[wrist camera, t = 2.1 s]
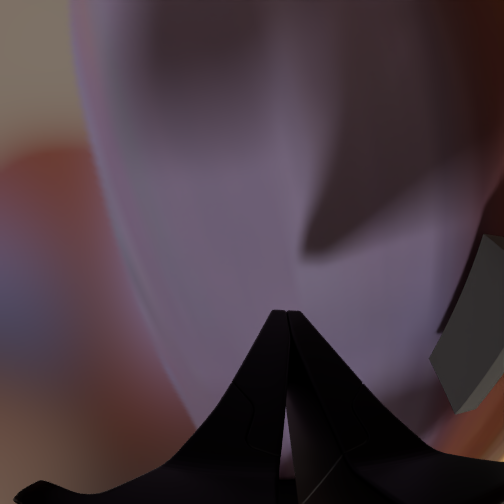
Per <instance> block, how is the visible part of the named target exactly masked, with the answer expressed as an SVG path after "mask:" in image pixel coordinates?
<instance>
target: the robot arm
mask: <svg viewBox="0 0 504 504" xmlns="http://www.w3.org/2000/svg"><path fill="white" fill-rule="evenodd" d="M285 409H286V411H287V418H288V426H289V433H290V441H291V449H292V456H293V464H294V472H295V480H296V481H279V467H280V457H281V449H282V439H283V430H284V419H285ZM13 501H14V502H15V503H17V504H504V462H497V461H489V460H482V459H475V458H469V457H463V456H457V455H452V454H447V453H443V452H440V451H437V450H435V449H433V448H432V447H430V446H429V445H427V444H426V443H425V442H423V441H422V440H421V439H420V438H419V437H418V436H417V435H415V434H414V433H413V432H412V431H411V430H410V429H409V428H408V427H406V426H405V425H404V424H403V423H402V422H401V421H400V420H399V419H398V418H396V417H395V416H394V415H393V414H392V413H391V412H390V411H389V410H388V409H387V408H386V407H385V406H384V405H383V404H382V403H381V402H380V401H379V400H378V399H377V398H376V397H375V396H374V395H373V394H372V392H371V391H370V390H369V389H368V388H367V387H366V386H365V385H364V384H362V381H361V380H360V379H359V378H358V377H357V375H356V374H355V373H354V372H353V371H352V370H351V369H350V367H349V366H348V365H347V364H346V363H345V362H344V361H343V359H342V358H341V357H340V356H339V355H338V354H337V353H336V351H335V350H334V349H333V348H332V347H331V346H330V344H329V343H328V342H327V341H326V340H325V339H324V338H323V336H322V335H321V334H320V333H319V332H318V331H317V330H316V328H315V327H314V326H313V325H312V324H311V323H310V321H309V320H308V319H307V318H306V317H305V316H304V315H303V313H302V312H300V311H291V310H288V311H287V312H286V311H285V310H272V311H271V313H270V315H269V316H268V318H267V320H266V322H265V324H264V326H263V327H262V329H261V331H260V333H259V335H258V336H257V338H256V340H255V342H254V344H253V345H252V347H251V349H250V351H249V353H248V354H247V356H246V358H245V360H244V361H243V363H242V365H241V367H240V368H239V370H238V372H237V374H236V375H235V377H234V379H233V381H232V383H231V384H230V385H229V387H228V389H227V391H226V392H225V394H224V395H223V397H222V398H221V400H220V401H219V403H218V405H217V406H216V407H215V409H214V410H213V411H212V412H211V414H210V415H209V416H208V418H207V419H206V420H205V421H204V422H203V424H202V425H201V426H200V427H199V428H198V429H197V430H196V432H195V433H194V434H193V435H192V436H191V437H190V439H189V440H188V441H187V442H186V443H185V444H184V445H183V446H182V447H181V449H180V450H179V451H178V452H177V453H176V454H175V455H174V456H173V457H172V458H171V459H170V460H168V461H167V462H166V463H165V464H163V465H161V466H160V467H158V468H156V469H154V470H152V471H150V472H148V473H146V474H144V475H142V476H140V477H138V478H135V479H133V480H131V481H129V482H126V483H124V484H122V485H120V486H117V487H115V488H113V489H110V490H108V491H105V492H102V493H97V494H80V493H76V492H73V491H70V490H68V489H65V488H63V487H60V486H57V485H55V484H53V483H50V482H47V481H43V480H40V481H37V482H35V483H33V484H31V485H29V486H27V487H26V488H24V489H22V491H20V492H19V493H18V494H17V495H16V496H15V497H14V499H13Z"/></svg>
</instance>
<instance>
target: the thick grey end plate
mask: <svg viewBox="0 0 504 504" xmlns="http://www.w3.org/2000/svg"><path fill="white" fill-rule="evenodd" d="M429 360H430V362H431V364H432V366H433V368H434V370H435V372H436V374H437V376H438V378H439V380H440V382H441V384H442V387H443V389H444V391H445V393H446V395H447V397H448V400H449V402H450V404H451V406H452V409H453V411H454V413H455V414H459V413H463V412H467V411H470V410H474V409H476V408H477V407H478V406H479V404H480V403H481V402H482V401H483V400H484V398H485V397H486V396H487V394H488V393H489V392H490V391H491V389H492V388H493V387H494V385H495V384H496V383H497V381H498V380H499V379H500V377H501V376H502V375H503V373H504V237H501V236H494V235H488V234H483V237H482V240H481V243H480V246H479V249H478V252H477V255H476V257H475V260H474V263H473V266H472V268H471V271H470V273H469V276H468V278H467V281H466V283H465V286H464V288H463V290H462V293H461V295H460V297H459V300H458V302H457V304H456V306H455V309H454V311H453V313H452V315H451V317H450V319H449V321H448V323H447V325H446V327H445V329H444V331H443V333H442V335H441V337H440V339H439V341H438V343H437V345H436V347H435V348H434V350H433V352H432V354H431V356H430V358H429Z"/></svg>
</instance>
